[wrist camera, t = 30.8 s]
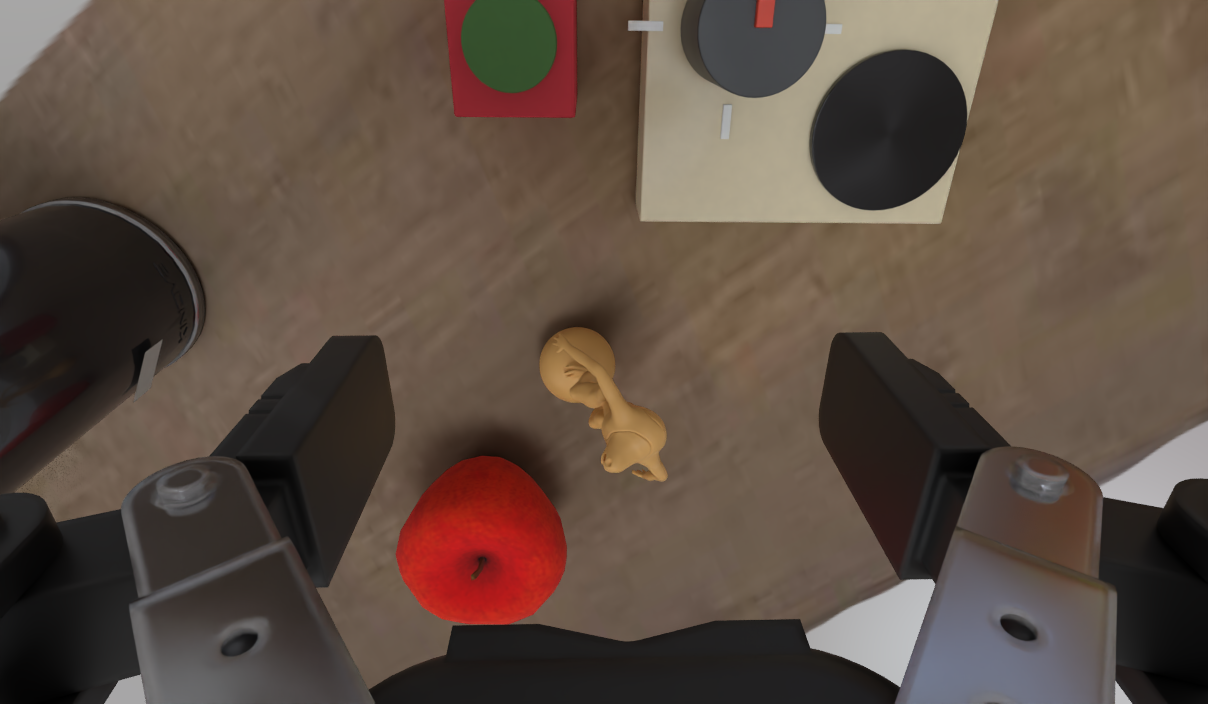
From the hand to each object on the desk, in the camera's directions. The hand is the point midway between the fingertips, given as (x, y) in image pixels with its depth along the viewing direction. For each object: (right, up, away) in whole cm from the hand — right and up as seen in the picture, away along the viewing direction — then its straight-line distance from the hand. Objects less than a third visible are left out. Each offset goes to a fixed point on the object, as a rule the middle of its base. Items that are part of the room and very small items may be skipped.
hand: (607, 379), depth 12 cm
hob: (+9, +13, +18) cm, 24 cm away
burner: (+12, +10, +16) cm, 23 cm away
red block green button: (-3, +15, +17) cm, 23 cm away
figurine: (-1, +1, +24) cm, 24 cm away
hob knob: (+5, +13, +14) cm, 20 cm away
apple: (-7, -8, +29) cm, 30 cm away
